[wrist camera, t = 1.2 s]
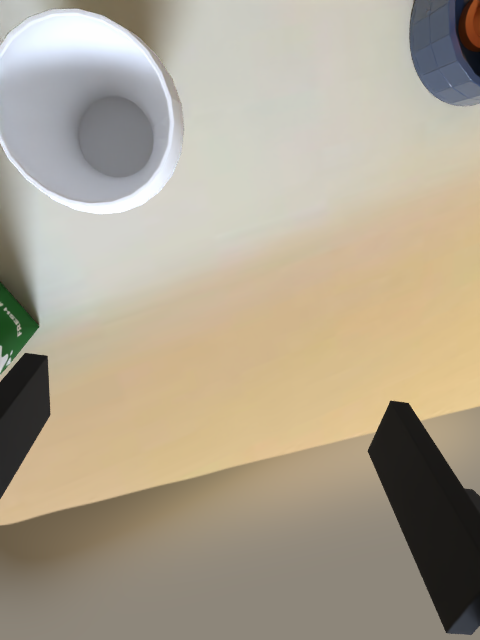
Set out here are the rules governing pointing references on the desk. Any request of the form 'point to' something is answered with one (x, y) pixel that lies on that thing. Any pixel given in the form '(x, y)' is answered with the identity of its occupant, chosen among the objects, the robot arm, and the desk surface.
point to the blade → (470, 26)
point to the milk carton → (13, 327)
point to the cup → (88, 111)
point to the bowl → (444, 52)
